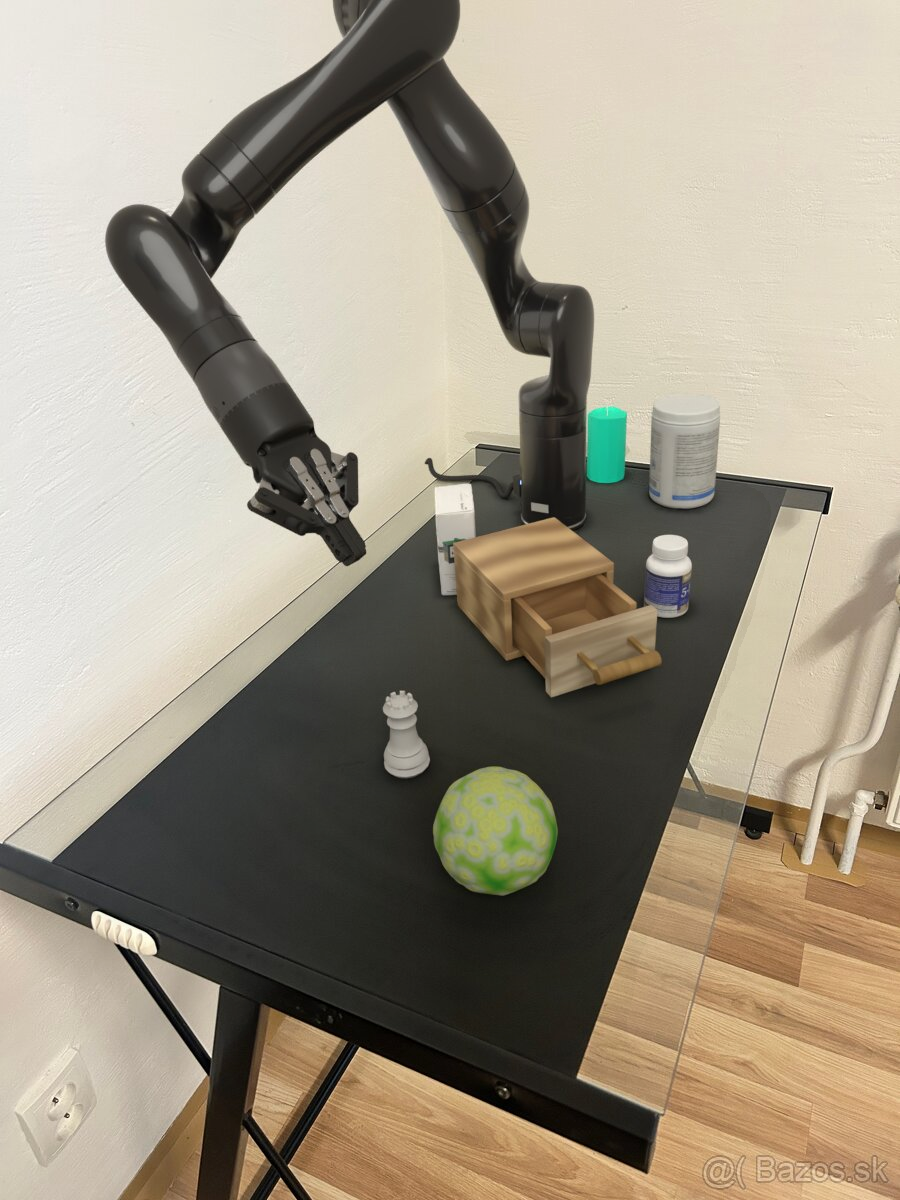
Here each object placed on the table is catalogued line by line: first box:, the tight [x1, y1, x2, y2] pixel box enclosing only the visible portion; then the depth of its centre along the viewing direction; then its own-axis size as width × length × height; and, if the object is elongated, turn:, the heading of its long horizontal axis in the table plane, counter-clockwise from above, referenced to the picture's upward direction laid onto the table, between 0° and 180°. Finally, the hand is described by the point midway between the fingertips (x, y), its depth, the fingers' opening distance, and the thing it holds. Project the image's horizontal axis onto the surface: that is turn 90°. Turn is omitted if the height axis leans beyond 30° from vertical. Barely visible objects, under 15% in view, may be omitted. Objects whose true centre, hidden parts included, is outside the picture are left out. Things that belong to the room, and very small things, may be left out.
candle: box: [586, 402, 628, 484], centre depth 138 cm, size 6×6×12 cm
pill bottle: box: [643, 534, 693, 619], centre depth 104 cm, size 5×5×9 cm
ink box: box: [434, 483, 477, 596], centre depth 113 cm, size 9×5×12 cm, turn 2°
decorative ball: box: [432, 766, 559, 897], centre depth 70 cm, size 10×10×10 cm
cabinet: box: [453, 517, 615, 662], centre depth 104 cm, size 14×14×9 cm
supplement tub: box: [648, 393, 721, 510], centre depth 129 cm, size 10×10×15 cm
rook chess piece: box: [382, 690, 431, 779], centre depth 83 cm, size 4×4×8 cm
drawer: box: [511, 574, 662, 698], centre depth 94 cm, size 18×13×7 cm
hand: (356, 559), depth 81 cm, fingers closed
